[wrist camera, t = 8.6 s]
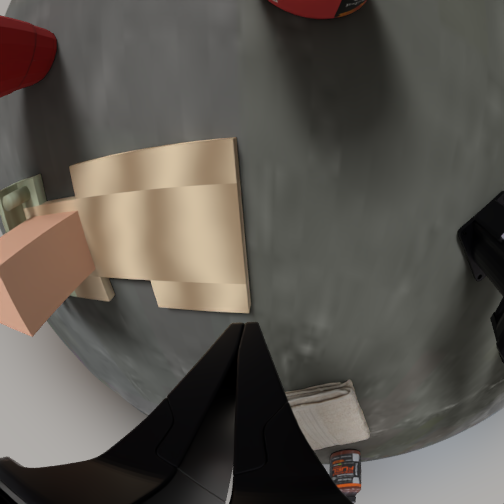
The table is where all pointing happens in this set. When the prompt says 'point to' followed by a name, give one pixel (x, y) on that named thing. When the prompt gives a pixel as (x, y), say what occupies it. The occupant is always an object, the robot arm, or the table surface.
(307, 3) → the canned food
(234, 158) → the trap board
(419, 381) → the table surface
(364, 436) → the washcloth
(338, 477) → the supplement bottle
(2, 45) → the plastic cup
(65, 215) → the block
